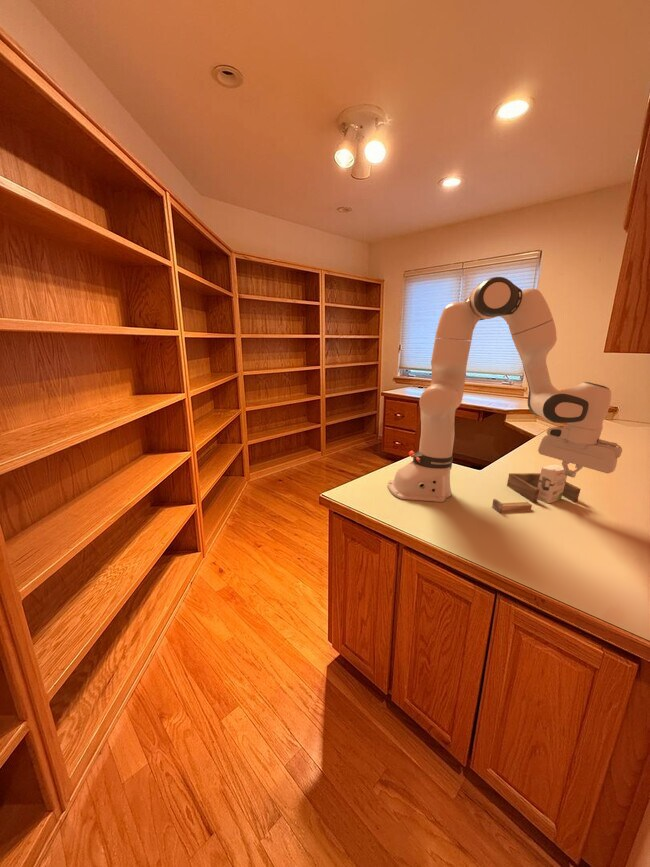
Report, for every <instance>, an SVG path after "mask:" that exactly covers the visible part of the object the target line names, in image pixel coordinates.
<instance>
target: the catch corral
mask: <svg viewBox="0 0 650 867" xmlns="http://www.w3.org/2000/svg"><path fill="white" fill-rule="evenodd" d="M540 474H541V472H539V473H538V472H537V473H536V472H532V473H531V472H528V473H526V472H524V473H521V472H520V473H519V472H518V473H515V472H514V473H511V472H510V473H508V477H507V481H506V482H507V483H506V487H508V488H509V489H510V490H513V491H514V492H516V494H517V493H518V494H519V495H521V496H522V497H523V498H525V499H526V500H528V501H529V502H531V504H532V503H533V504H536V503H537V502H538V499H537V498H538V493H539V489H538V483H539V478H540ZM580 493H581V488H579V487H578V486H575V485H573V484H572V483H569V482H567V481H566V482H565V486H564V490H563V494H562V497H563V498H565V499H567V500H569V501H571V502H573V503H578V501H579V497H580Z"/></svg>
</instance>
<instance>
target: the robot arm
mask: <svg viewBox="0 0 650 867" xmlns="http://www.w3.org/2000/svg"><path fill="white" fill-rule="evenodd" d="M497 317H500V318H502V319H503V320H504V321H505V322H506V324H507V325H508V328H509V331H510V332H509V333H510V336H511V339H512V341H513V344H514V346H515V348H516V351H517V353H518V356H519V358H520V361H521V363H522V366H523V367H522V368H523V370H524V375H525V378H526V382H527V386H528V395H527V396H528V397H527V407H528V409H529V412H531V413H532V414H533V415H535V416H536V417H540V418H543V419H544V420H546V421H548V422H551V423H556V424H565V426H564V425H563V426H552V427H548V428H547V430H546V435H544V436H543V437H542V438H541V441H540V442H539V446H538V449H537V452H538V453H539V455H542V456H545V457H549V458H553V459H557V460H559V461H562V462H561V464H562V465H561V466H563V468H564V473H563V475H567V477H570V478H573V479H574V478H575V477H576V476H577V472H579V471H580V470H582V469H583V468H587V469H589V470H590V469H591V470H594V471H597V472H600V473H604V474H611V473H614V472H615V470H616V468H617V464H618V459H619V458H620V457H621V456H622V453H623V448H622V447H621V445H619V444H618V443H617V442H613V441H608V440H604V439H600V438H601V434H602V431H603V429H604V428H603V422H604V420H605V418H606V417H607V415H608V412H609V408H610V405H611V401H612V391H611V389H610V388H609V387H608V386H605V385H601V384H597V383H593V382H590V381H589V382H588V381H587V382H586V381H583V382H581V383H580V384H579V383H578V384H577V385H575V386H572V387H570V388H565V389H560V390H558V389H557V388H556V387H555V386H554V385H553V384H552V382H551V377H550V374H549V370H548V365H547V356H548V354H549V353H550V351H551V350H552V349H553V348H554V346H555V344H556V343H557V340H558V338H557V328H556V324H555V319H553V318H554V317H553V314H552V312H551V309H550V307H549V305H548V302H547V300H546V299H545V297H544V296H543V293H542V292H541V291H540V290H539V289H537V288H525V289H521V288H519V287H518V286H517V285H516V284H514V283H513V282H512V281H511V280H509V279H508V278H506V277H503V276H494V277H489V278H487V279H485V280H484V281H482V282H480V283H479V284H478V285H476V286H475V288H474V289H473V290H472V291H471V292H470V294H469V295H468V296H467V297H466V299H464V301H455V302H452V303H449V304H447V305H446V306H445V307H444V308H443V310H442V312H441V314H440V317H439V320H438V324H437V328H436V331H435V338H434V342H433V347H432V348H433V350H432V354H431V361H430V365H431V366H430V367H431V382H430V385H429V386H428V387H427V388H425V389H424V390H423V392H422V393H421V395H420V397H419V401H418V404H419V409H420V410H419V411H420V412H419V413H420V439H419V448H418V450H417V452H414V451H413V450H410V451H409V452H408V455H409V457H411V458H412V461H409V463H407V464H405V465H404V466H402V467H400V468H399V469H397V471H396V473H395V476H394V479H392V480H389V481H388V482H387V489H388V490H389V492H390V493H391V494H392V496H394V497H396V498H398V499H400V500H409V501H410V500H411V501H412V500H413V501H425V502H438V503H439V502H440V503H443V502H445V500H446V499H448V498H449V497H451V495H452V488H451V487H452V486H451V470H452V467H453V459H454V456H453V449H454V442H455V434H456V433H455V417H456V410H457V409H458V408H459V407H460V406H461V404H462V402H463V398H464V392H465V391H464V390H465V383H466V374H467V373H466V372H467V366H468V360H469V355H470V354H469V353H470V350H471V344H472V341H473V340H472V339H473V335H474V330H475V328H476V325H477V323H478V322H479V321H483V320H484V321H485V320H491V319H494V318H497ZM570 464H573V465H575V468H576V469H574V470H571V469H570V468H569V466H568V465H570ZM568 468H569V469H568Z"/></svg>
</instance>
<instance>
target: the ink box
mask: <svg viewBox="0 0 650 867" xmlns="http://www.w3.org/2000/svg"><path fill="white" fill-rule="evenodd" d="M568 469H569V470H570V468H569V467H568ZM540 473H541V474H540V478H539V483H538V487H537V488H538V489H539V493H538V498H537V500H538V501H539V500H540V501H541V502H544V503H547V504H552V503H554V502H556V501H559V500H561V499H562V498H563V496H562V494H563V490H564V486H565V482H567V478H568V476H567V475H563V473H564V468H563V466H562V465H559V464H555V463H553V464H550V465H547V466H543V467H541V471H540Z"/></svg>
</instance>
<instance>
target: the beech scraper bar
mask: <svg viewBox="0 0 650 867" xmlns="http://www.w3.org/2000/svg"><path fill="white" fill-rule="evenodd" d="M532 507H533V504H532V503H530V502H528V501H524V502H523V501H522V502H521V501H520V502H519V501H518V502H503V503H502V502H501V501H499V500H498V499H497V498H493V500H492V505H491V509H493V510H495V511H496V512H497V513H498V514H502V512H506V513H507V512H521V511H522V512H523V511H524V512H525V511H532Z"/></svg>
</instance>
